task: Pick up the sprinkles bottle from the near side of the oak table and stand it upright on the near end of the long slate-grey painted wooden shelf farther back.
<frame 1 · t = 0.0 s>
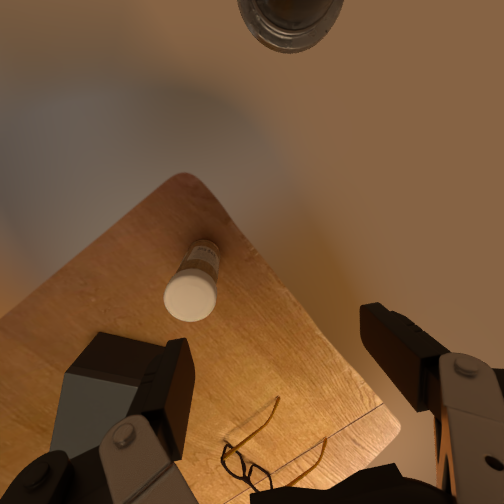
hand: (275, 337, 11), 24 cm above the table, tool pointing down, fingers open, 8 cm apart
sprinkles bottle: (204, 254, 34), on the table
shelf: (115, 410, 40), on the table
eyeglasses: (273, 438, 45), on the table
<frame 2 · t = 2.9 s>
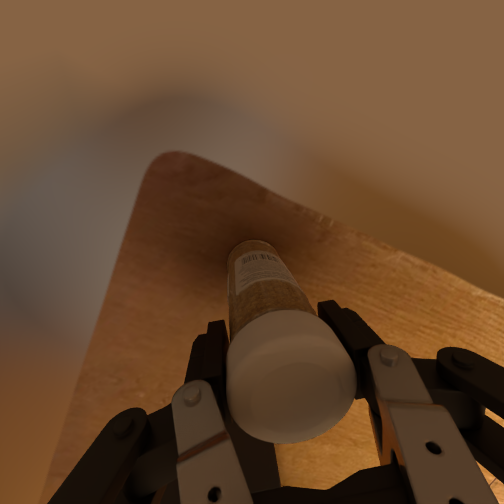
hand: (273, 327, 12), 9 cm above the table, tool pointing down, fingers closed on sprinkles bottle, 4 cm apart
sprinkles bottle: (253, 263, 21), on the table, touching gripper
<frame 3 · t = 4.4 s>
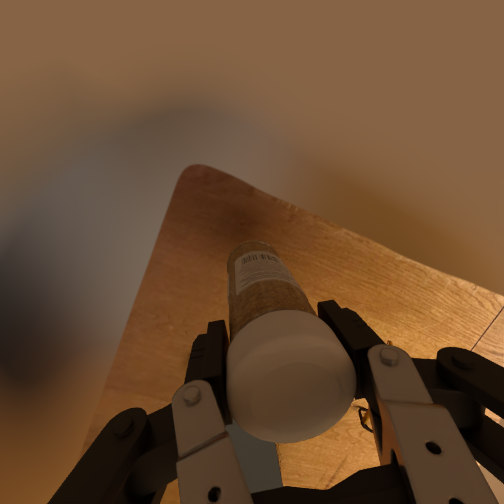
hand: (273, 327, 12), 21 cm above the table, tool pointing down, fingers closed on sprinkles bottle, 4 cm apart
sprinkles bottle: (253, 263, 21), point 12 cm above the table, touching gripper
shelf: (240, 418, 41), on the table
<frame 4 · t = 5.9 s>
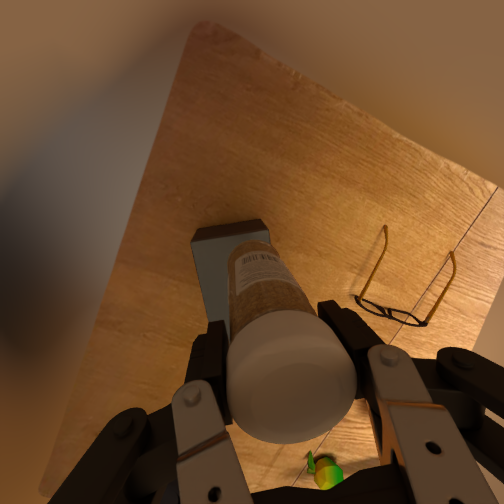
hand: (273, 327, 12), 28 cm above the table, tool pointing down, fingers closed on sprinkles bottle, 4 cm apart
sprinkles bottle: (254, 263, 21), point 19 cm above the table, touching gripper
shelf: (243, 302, 43), on the table
teapot: (166, 444, 52), on the table
apple: (319, 459, 57), on the table
eyeglasses: (396, 274, 44), on the table
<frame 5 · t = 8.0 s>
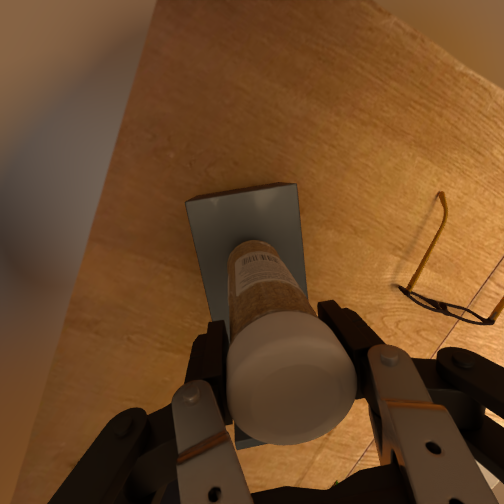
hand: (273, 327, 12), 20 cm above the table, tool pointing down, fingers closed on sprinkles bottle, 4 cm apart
sprinkles bottle: (254, 263, 21), point 10 cm above the table, touching gripper
shelf: (255, 294, 33), on the table
teapot: (158, 476, 41), on the table
eyeglasses: (451, 258, 35), on the table
when the fingers open (17 cm above the table, at t = 9.1 s): sprinkles bottle stays where it is, resting on shelf.
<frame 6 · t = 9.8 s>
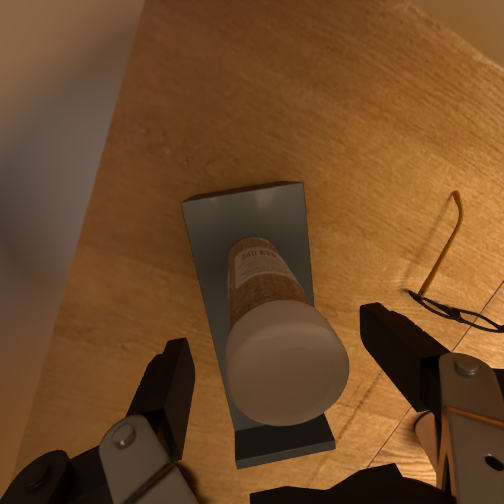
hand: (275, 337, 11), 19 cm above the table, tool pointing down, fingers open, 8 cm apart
sprinkles bottle: (253, 259, 22), point 8 cm above the table, touching shelf
shelf: (257, 300, 31), on the table
cup: (430, 422, 41), on the table
eyeglasses: (465, 261, 33), on the table
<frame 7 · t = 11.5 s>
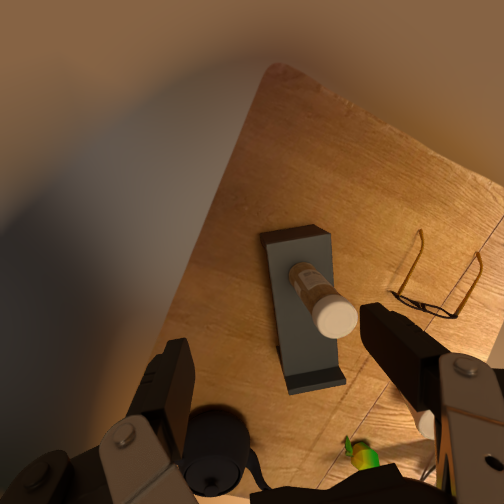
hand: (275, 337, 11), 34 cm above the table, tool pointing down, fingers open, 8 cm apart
sprinkles bottle: (302, 274, 39), point 8 cm above the table, touching shelf
shelf: (294, 297, 49), on the table
teapot: (218, 428, 57), on the table
apple: (354, 444, 62), on the table
cup: (409, 384, 58), on the table
eyeglasses: (429, 272, 50), on the table
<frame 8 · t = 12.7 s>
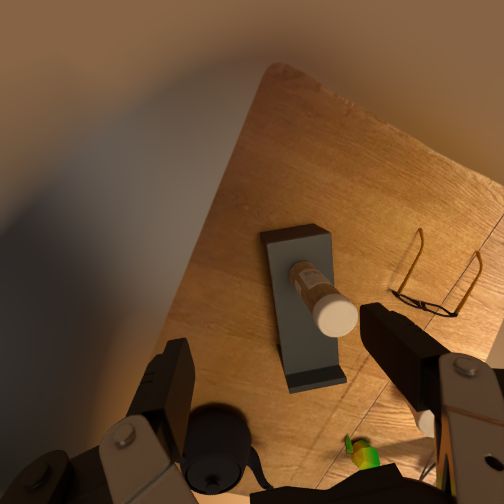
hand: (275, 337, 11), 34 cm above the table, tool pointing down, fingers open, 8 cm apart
sprinkles bottle: (302, 273, 39), point 8 cm above the table, touching shelf
shelf: (295, 296, 49), on the table
teapot: (219, 427, 57), on the table
apple: (354, 442, 63), on the table
cup: (409, 382, 59), on the table
eyeglasses: (428, 271, 50), on the table
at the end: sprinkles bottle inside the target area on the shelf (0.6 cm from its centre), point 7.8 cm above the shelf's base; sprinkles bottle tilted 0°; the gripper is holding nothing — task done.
